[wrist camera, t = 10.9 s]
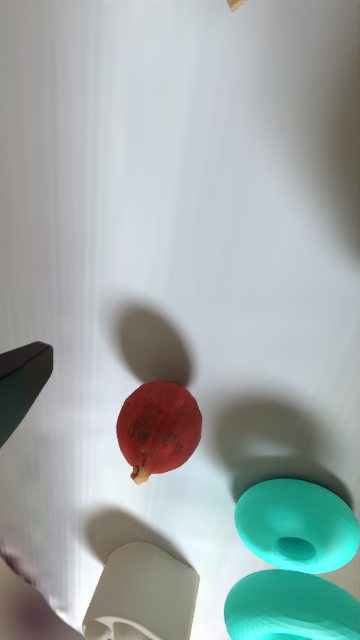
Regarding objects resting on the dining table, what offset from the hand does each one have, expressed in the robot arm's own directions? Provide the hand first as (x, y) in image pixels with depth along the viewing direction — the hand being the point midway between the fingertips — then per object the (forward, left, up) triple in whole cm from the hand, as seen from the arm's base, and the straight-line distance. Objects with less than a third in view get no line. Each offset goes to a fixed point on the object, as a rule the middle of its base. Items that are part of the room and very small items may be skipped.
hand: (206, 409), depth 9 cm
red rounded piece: (+2, +12, -13) cm, 18 cm away
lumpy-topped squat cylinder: (-1, +43, -13) cm, 45 cm away
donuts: (-11, +21, -13) cm, 27 cm away
